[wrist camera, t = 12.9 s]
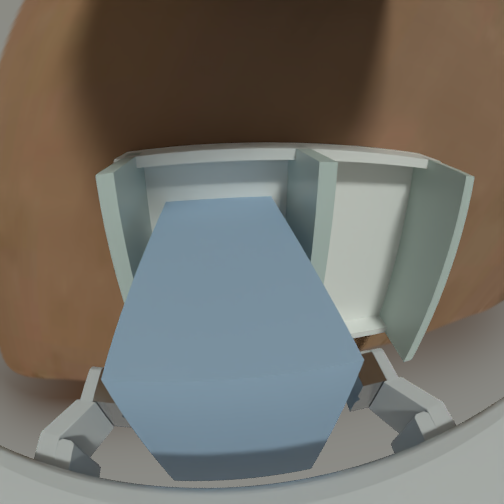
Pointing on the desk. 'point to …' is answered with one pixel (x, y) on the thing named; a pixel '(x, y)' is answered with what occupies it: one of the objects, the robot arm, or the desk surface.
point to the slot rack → (313, 218)
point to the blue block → (229, 345)
